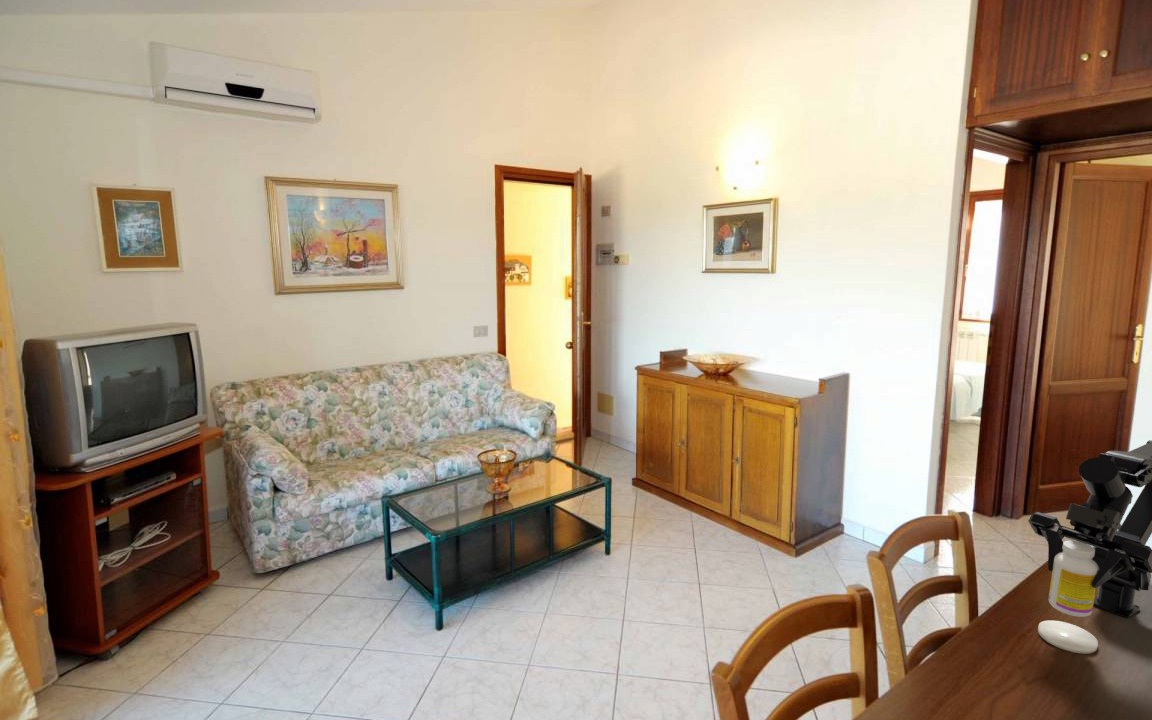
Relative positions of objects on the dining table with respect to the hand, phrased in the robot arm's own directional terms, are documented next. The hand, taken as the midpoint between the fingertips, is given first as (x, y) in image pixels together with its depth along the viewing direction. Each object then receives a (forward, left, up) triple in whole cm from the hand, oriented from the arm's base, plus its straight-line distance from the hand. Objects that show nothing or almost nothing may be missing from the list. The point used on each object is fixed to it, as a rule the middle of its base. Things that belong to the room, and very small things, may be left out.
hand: (1070, 578), depth 116 cm
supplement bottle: (-1, 0, -7) cm, 7 cm away
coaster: (-2, 0, -13) cm, 13 cm away
